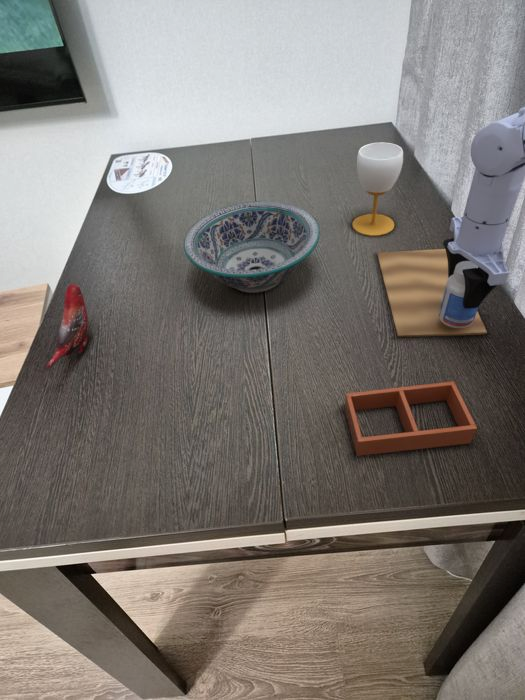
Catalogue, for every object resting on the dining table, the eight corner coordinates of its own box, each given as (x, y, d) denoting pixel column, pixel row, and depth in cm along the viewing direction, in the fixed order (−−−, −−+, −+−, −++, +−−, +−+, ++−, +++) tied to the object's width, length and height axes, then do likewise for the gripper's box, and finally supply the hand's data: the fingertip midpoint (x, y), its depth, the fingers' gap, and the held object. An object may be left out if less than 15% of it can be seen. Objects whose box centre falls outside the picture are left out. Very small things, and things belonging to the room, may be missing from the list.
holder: (448, 396, 63) (453, 381, 60) (470, 443, 57) (477, 428, 55) (344, 408, 63) (345, 393, 61) (356, 456, 58) (358, 441, 55)
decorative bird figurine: (103, 320, 82) (82, 276, 75) (71, 394, 70) (43, 351, 62) (88, 320, 82) (66, 277, 75) (54, 395, 70) (24, 352, 63)
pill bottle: (480, 325, 70) (498, 275, 63) (449, 332, 69) (464, 283, 62) (461, 304, 73) (476, 254, 66) (431, 311, 73) (443, 262, 66)
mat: (486, 334, 71) (487, 332, 70) (397, 337, 72) (397, 335, 71) (448, 250, 87) (449, 248, 87) (376, 254, 88) (377, 252, 88)
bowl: (344, 287, 82) (347, 243, 75) (222, 336, 76) (213, 293, 69) (282, 229, 98) (279, 188, 91) (177, 265, 92) (166, 225, 85)
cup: (355, 213, 100) (359, 141, 89) (395, 215, 98) (406, 141, 86) (349, 234, 94) (353, 160, 83) (392, 237, 92) (403, 161, 81)
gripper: (437, 192, 63) (421, 269, 73) (479, 247, 53) (454, 328, 63) (486, 186, 63) (464, 264, 73) (538, 240, 53) (503, 323, 63)
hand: (462, 294), depth 68 cm, fingers closed on pill bottle, 5 cm apart
